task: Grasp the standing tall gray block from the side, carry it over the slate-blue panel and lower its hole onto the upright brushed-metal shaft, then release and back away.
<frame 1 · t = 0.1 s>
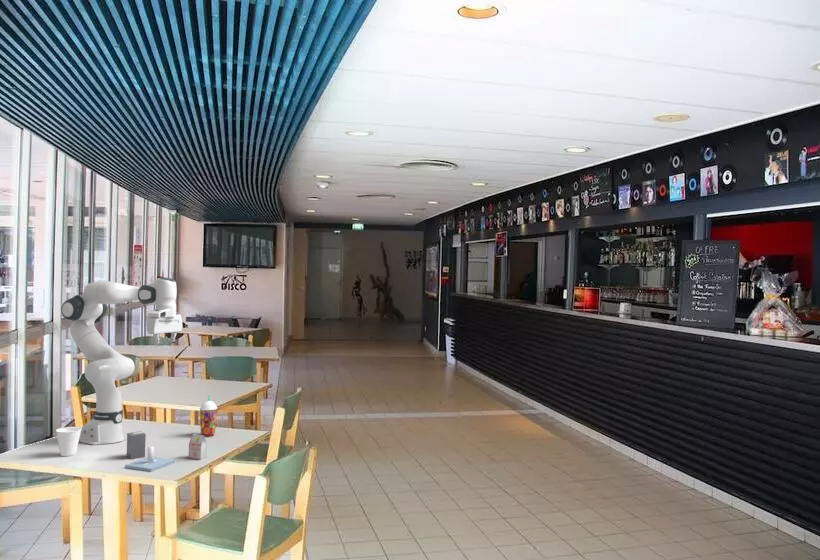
hand: (165, 342, 290), 48 cm above the table, tool pointing down, fingers open, 8 cm apart
smoothie: (207, 435, 314), on the table
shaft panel: (150, 465, 262), on the table
tea bag: (197, 458, 275), on the table
tall gray block: (135, 456, 274), on the table
cup: (68, 455, 274), on the table
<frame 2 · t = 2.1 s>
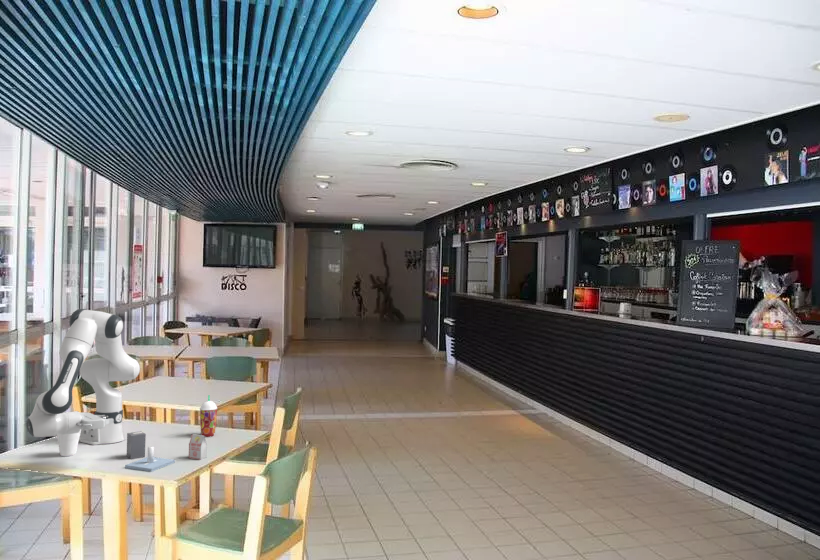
hand: (109, 418, 266), 18 cm above the table, tool horizontal, fingers open, 8 cm apart
nothing on the table moved.
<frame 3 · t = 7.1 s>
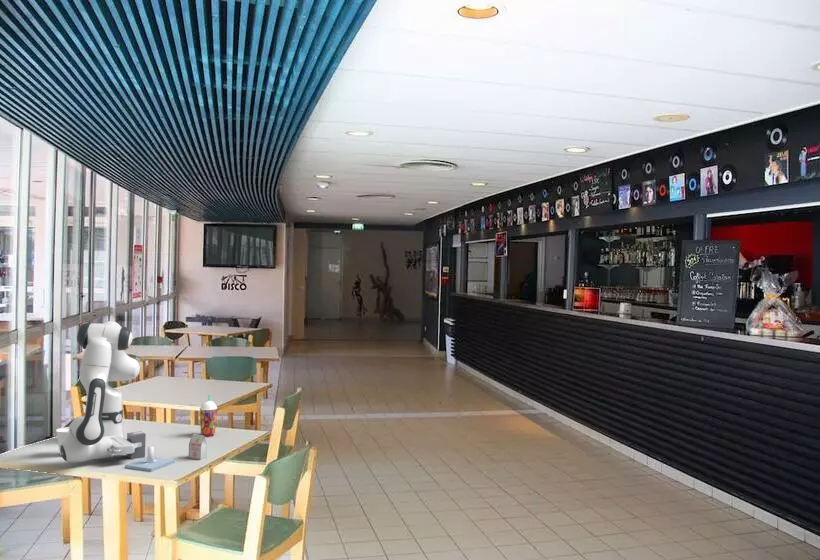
hand: (138, 442, 274), 6 cm above the table, tool horizontal, fingers closed on tall gray block, 6 cm apart
tall gray block: (135, 456, 274), on the table, touching gripper
everything else where it was.
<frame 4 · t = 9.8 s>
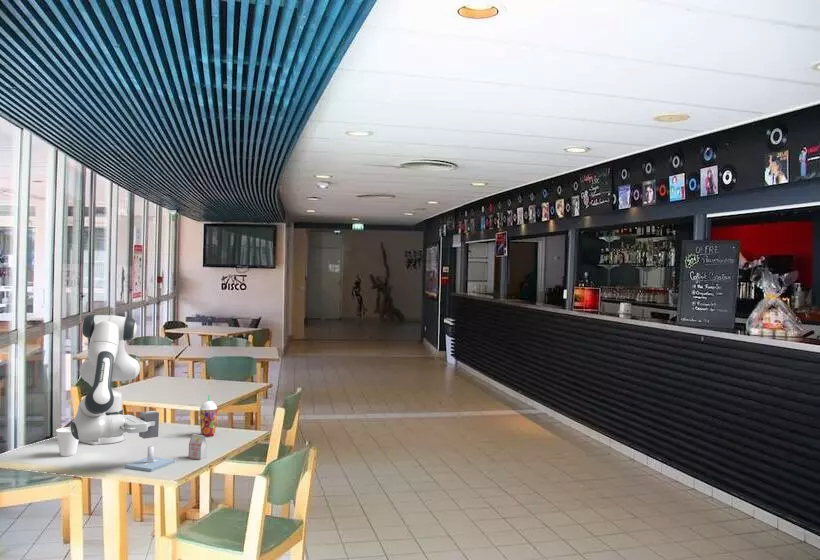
hand: (151, 421, 264), 18 cm above the table, tool horizontal, fingers closed on tall gray block, 6 cm apart
tall gray block: (148, 436, 263), point 12 cm above the table, touching gripper
everything else where it was.
when the fingers open (9 cm above the table, at t = 12.5 s): tall gray block drops 1 cm, resting on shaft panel.
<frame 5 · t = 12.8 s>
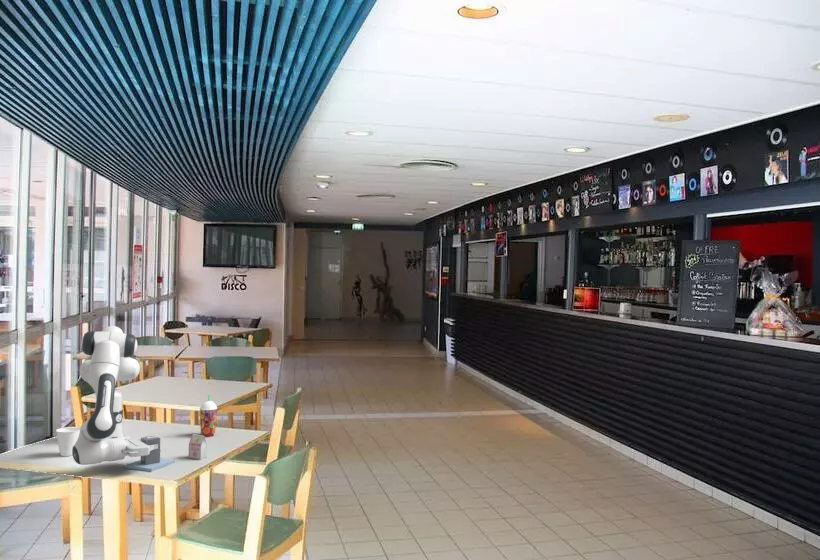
hand: (153, 443, 262), 9 cm above the table, tool horizontal, fingers open, 8 cm apart
tall gray block: (150, 462, 262), point 1 cm above the table, touching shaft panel
everything else where it was.
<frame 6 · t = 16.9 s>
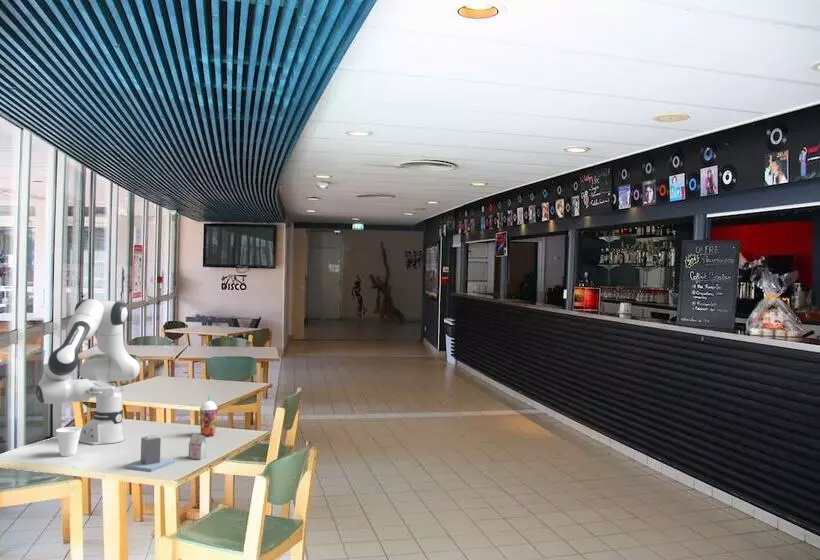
hand: (119, 387, 262), 32 cm above the table, tool horizontal, fingers open, 8 cm apart
nothing on the table moved.
at the end: tall gray block 0.1 cm off-centre on the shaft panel, point 1.3 cm above the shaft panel's base; tall gray block tilted 0°; the gripper is holding nothing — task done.
